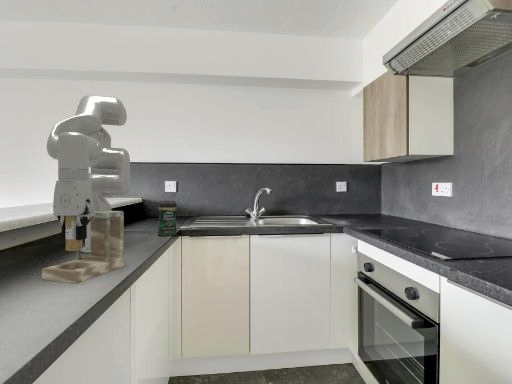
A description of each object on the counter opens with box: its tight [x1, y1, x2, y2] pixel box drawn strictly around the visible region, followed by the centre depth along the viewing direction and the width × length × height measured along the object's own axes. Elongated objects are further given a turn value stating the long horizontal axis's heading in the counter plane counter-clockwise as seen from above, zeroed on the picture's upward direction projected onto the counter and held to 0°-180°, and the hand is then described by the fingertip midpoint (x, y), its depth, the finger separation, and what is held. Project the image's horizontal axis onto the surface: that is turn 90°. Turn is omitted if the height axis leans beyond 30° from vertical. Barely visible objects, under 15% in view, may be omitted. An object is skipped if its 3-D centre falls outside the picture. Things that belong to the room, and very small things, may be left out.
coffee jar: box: [157, 200, 178, 237], centre depth 154 cm, size 10×8×19 cm
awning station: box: [41, 210, 125, 285], centre depth 88 cm, size 18×12×18 cm, turn 164°
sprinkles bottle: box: [64, 213, 84, 252], centre depth 84 cm, size 5×5×14 cm
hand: (74, 238), depth 84 cm, fingers closed on sprinkles bottle, 4 cm apart
